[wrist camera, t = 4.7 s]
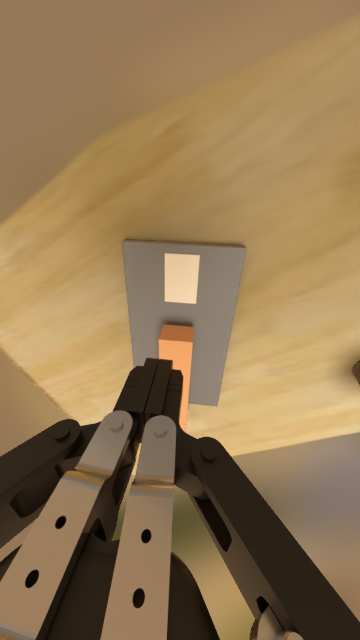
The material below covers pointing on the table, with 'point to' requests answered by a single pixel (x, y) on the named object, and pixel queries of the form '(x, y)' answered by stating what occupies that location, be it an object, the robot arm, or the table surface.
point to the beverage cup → (357, 371)
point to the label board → (184, 303)
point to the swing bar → (178, 358)
